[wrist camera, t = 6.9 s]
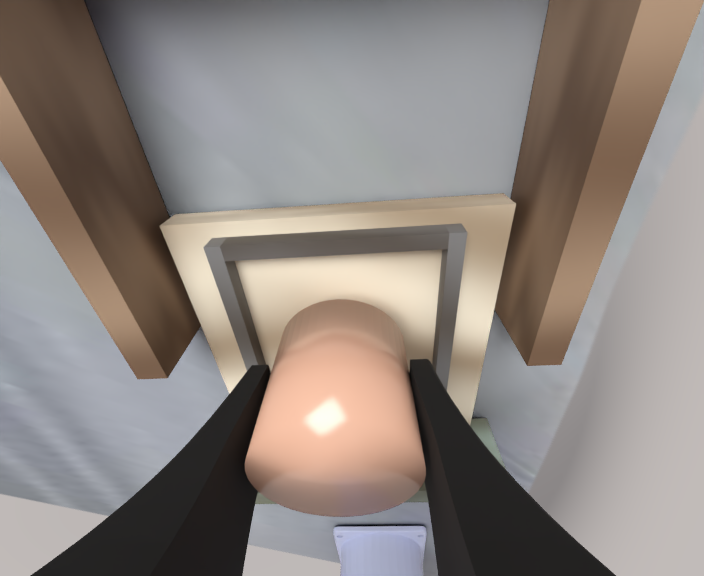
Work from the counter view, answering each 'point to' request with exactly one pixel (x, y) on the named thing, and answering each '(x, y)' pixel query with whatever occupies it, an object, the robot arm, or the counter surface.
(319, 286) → the tray
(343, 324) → the peach rounded cylinder
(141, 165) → the dock
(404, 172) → the counter surface
